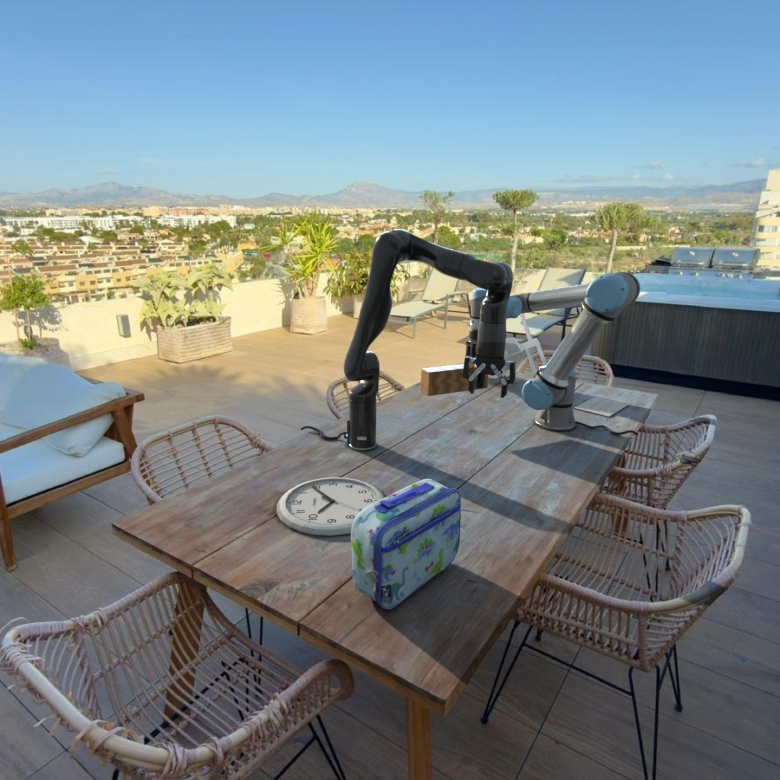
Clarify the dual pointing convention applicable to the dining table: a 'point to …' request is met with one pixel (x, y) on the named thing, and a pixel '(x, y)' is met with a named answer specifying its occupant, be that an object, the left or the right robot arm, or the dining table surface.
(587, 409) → the invitation card
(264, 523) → the dining table surface
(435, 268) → the left robot arm
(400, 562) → the lunch box
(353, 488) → the wall clock
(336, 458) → the dining table surface
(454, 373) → the bar
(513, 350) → the white plastic object
